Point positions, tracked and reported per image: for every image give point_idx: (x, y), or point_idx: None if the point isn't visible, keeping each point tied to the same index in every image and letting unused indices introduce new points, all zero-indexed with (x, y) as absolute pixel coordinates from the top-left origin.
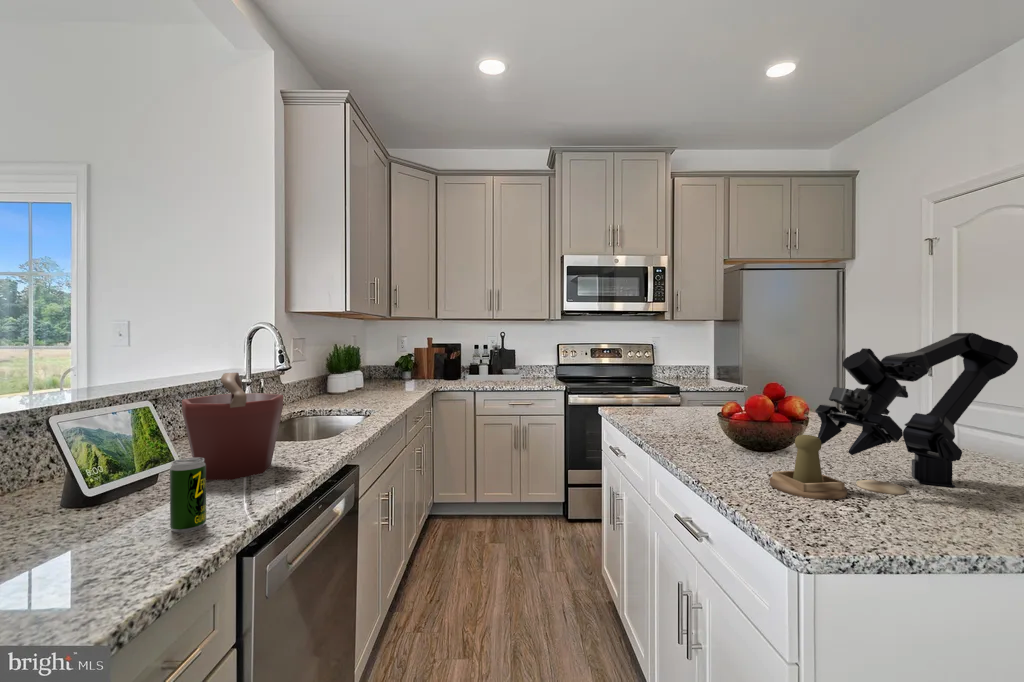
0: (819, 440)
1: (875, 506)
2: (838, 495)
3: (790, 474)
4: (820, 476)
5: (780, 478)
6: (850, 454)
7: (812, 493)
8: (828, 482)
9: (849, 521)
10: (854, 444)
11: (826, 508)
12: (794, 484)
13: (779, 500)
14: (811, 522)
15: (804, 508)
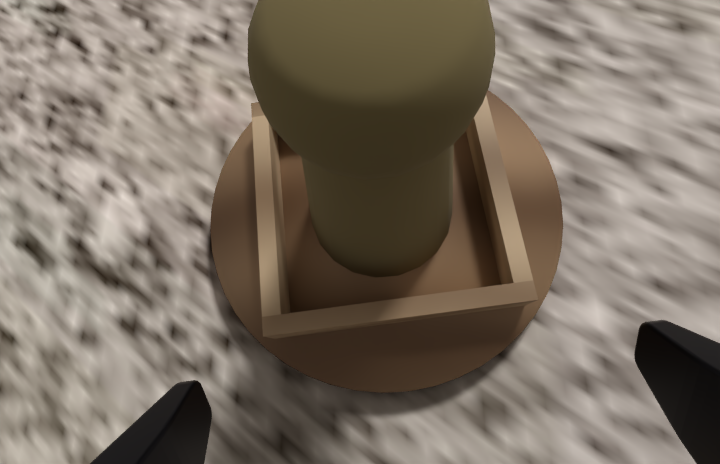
0: (269, 88)
1: (110, 368)
2: (215, 259)
3: (480, 164)
4: (316, 222)
5: None
6: (206, 404)
7: (237, 148)
8: (273, 244)
9: (5, 144)
10: (116, 458)
11: (130, 144)
12: None
13: (235, 30)
14: (32, 28)
15: (144, 70)
